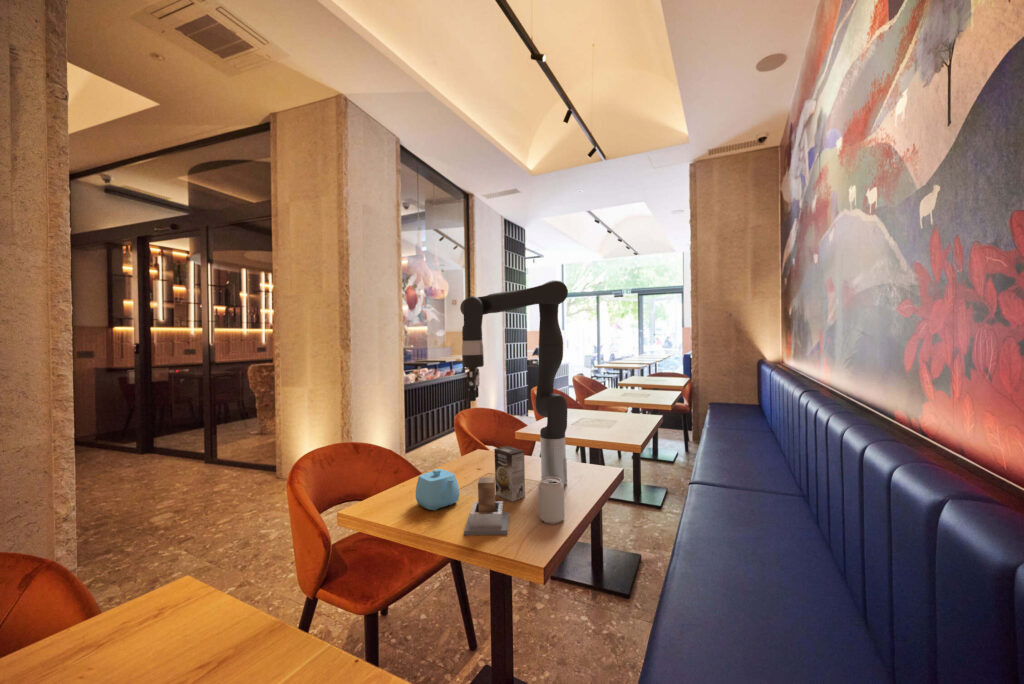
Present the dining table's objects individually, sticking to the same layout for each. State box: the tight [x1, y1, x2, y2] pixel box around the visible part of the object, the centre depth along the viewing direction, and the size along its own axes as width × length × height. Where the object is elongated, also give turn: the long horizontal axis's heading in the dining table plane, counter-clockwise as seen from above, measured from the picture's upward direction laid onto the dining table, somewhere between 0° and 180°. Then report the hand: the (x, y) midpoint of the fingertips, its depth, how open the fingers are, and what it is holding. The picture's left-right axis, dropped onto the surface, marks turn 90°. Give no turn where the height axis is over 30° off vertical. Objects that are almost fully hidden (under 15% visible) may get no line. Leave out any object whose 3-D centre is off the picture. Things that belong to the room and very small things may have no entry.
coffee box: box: [493, 445, 526, 502], centre depth 142 cm, size 9×6×16 cm
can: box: [538, 477, 566, 525], centre depth 123 cm, size 8×8×12 cm
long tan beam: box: [477, 476, 496, 512], centre depth 120 cm, size 4×4×12 cm
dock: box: [463, 500, 510, 536], centre depth 120 cm, size 12×12×5 cm
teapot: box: [415, 468, 460, 511], centre depth 135 cm, size 12×18×12 cm
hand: (474, 399), depth 146 cm, fingers open, 8 cm apart
